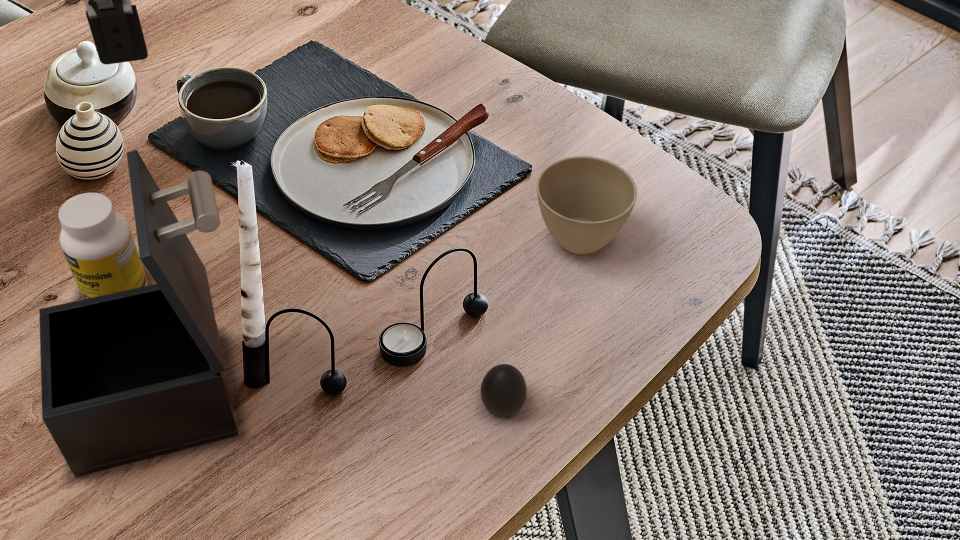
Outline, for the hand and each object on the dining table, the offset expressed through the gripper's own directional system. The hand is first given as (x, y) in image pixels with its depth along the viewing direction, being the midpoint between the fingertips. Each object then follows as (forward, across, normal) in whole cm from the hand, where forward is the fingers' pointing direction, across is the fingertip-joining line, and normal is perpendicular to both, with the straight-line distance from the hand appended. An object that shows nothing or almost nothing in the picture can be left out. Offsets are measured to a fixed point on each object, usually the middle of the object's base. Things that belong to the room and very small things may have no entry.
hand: (120, 21), depth 69 cm
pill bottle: (+32, -4, -7) cm, 33 cm away
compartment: (+31, +11, -5) cm, 34 cm away
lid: (+15, +11, 0) cm, 19 cm away
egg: (+31, +20, +25) cm, 45 cm away
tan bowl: (+31, +2, +39) cm, 50 cm away
